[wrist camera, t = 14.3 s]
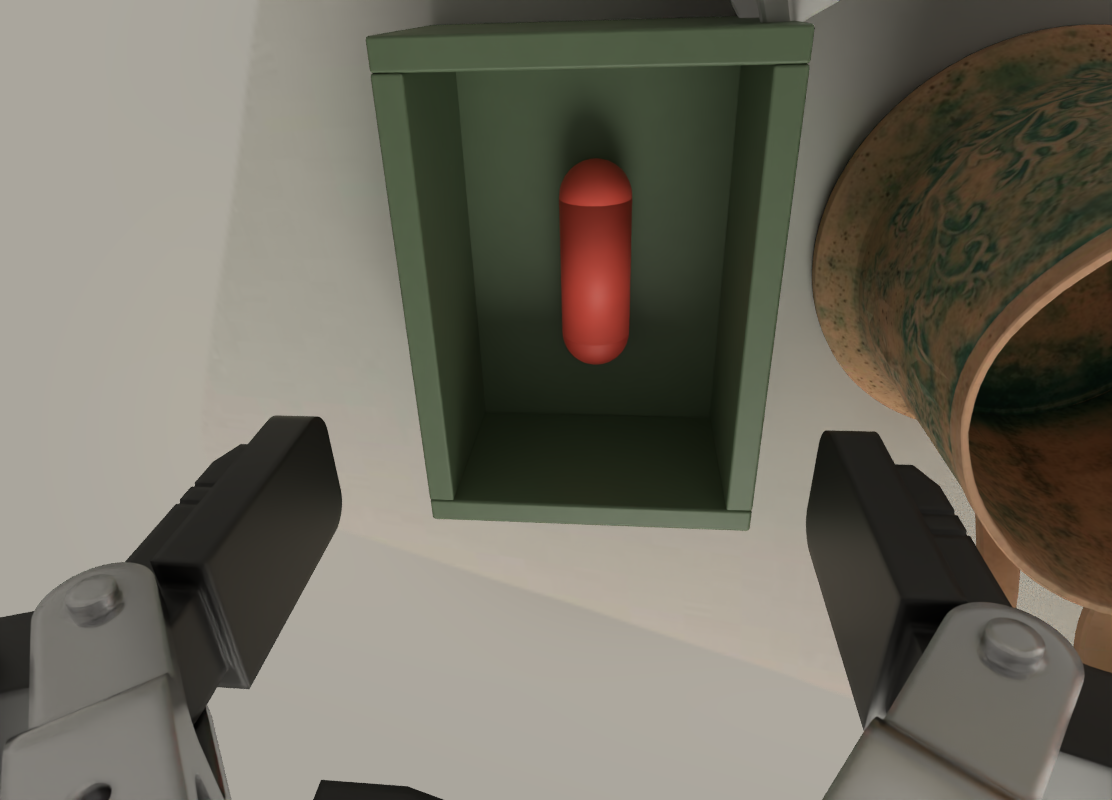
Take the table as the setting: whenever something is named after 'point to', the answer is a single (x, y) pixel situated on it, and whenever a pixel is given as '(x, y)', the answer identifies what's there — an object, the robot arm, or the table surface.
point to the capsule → (595, 260)
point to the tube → (780, 9)
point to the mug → (994, 299)
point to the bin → (535, 265)
